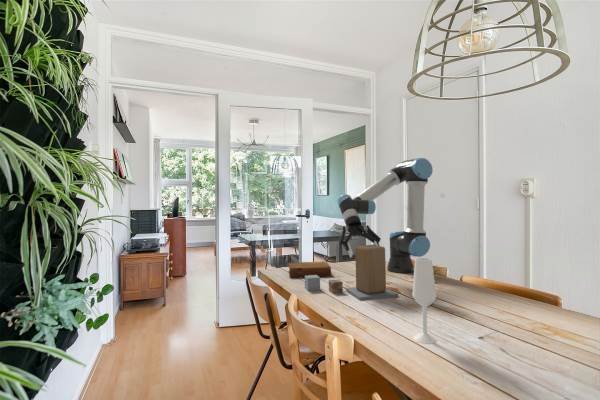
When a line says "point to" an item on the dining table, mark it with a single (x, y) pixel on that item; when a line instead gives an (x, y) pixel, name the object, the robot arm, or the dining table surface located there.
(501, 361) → the dining table surface
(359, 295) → the slate grey board
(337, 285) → the walnut cube
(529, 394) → the dining table surface
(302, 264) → the diary
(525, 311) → the dining table surface
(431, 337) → the champagne flute
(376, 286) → the wooden block
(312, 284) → the blue grey box
